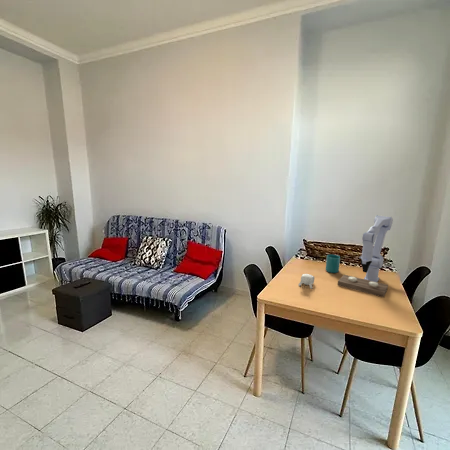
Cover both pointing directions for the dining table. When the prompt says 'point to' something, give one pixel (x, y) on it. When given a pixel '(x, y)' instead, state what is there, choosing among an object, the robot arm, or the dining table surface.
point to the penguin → (307, 280)
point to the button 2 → (373, 284)
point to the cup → (332, 263)
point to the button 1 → (352, 279)
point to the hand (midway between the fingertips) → (364, 271)
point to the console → (363, 286)
